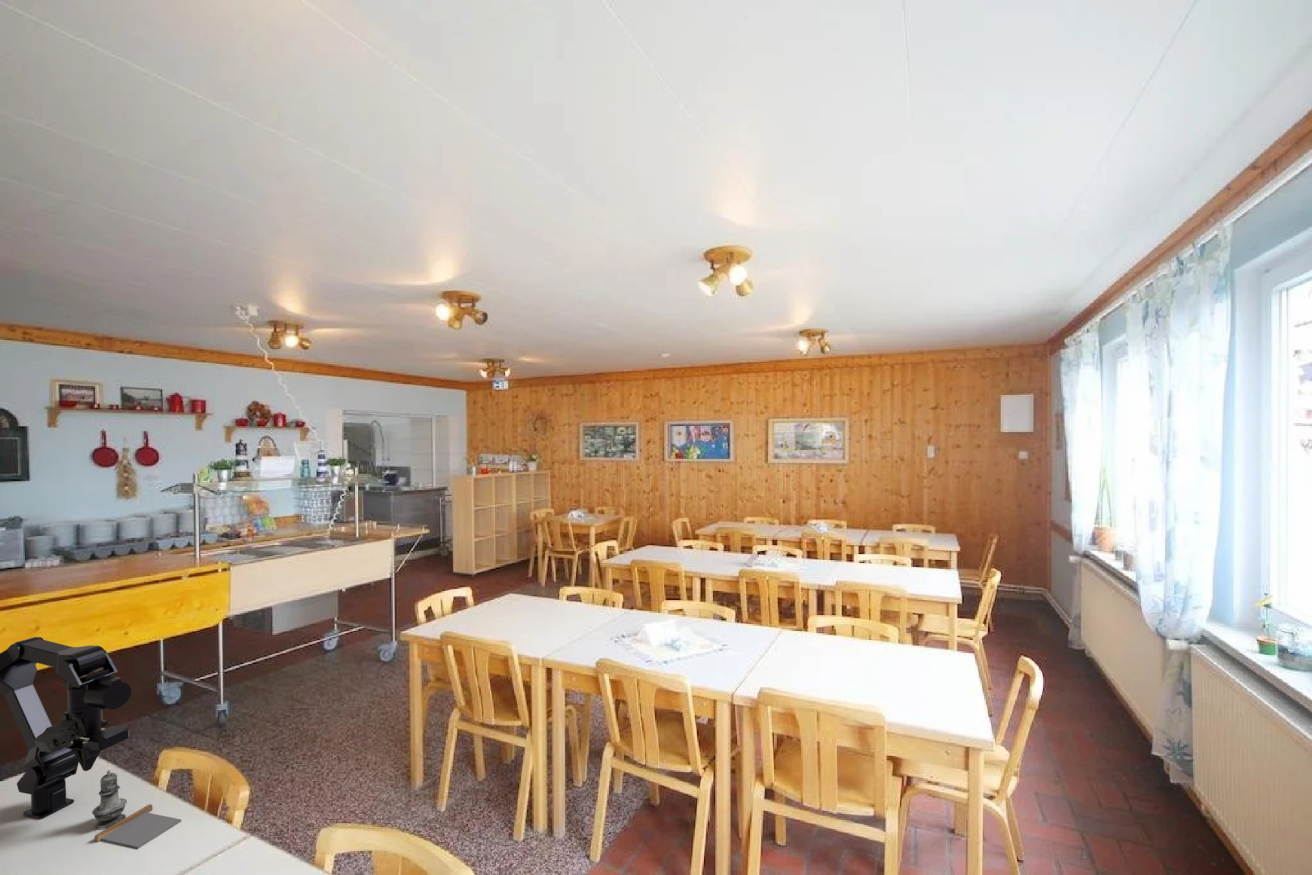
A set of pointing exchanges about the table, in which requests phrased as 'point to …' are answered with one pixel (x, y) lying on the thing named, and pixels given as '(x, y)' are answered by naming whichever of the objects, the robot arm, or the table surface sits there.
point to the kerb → (123, 822)
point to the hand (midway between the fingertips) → (87, 770)
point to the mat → (141, 830)
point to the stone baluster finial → (109, 803)
